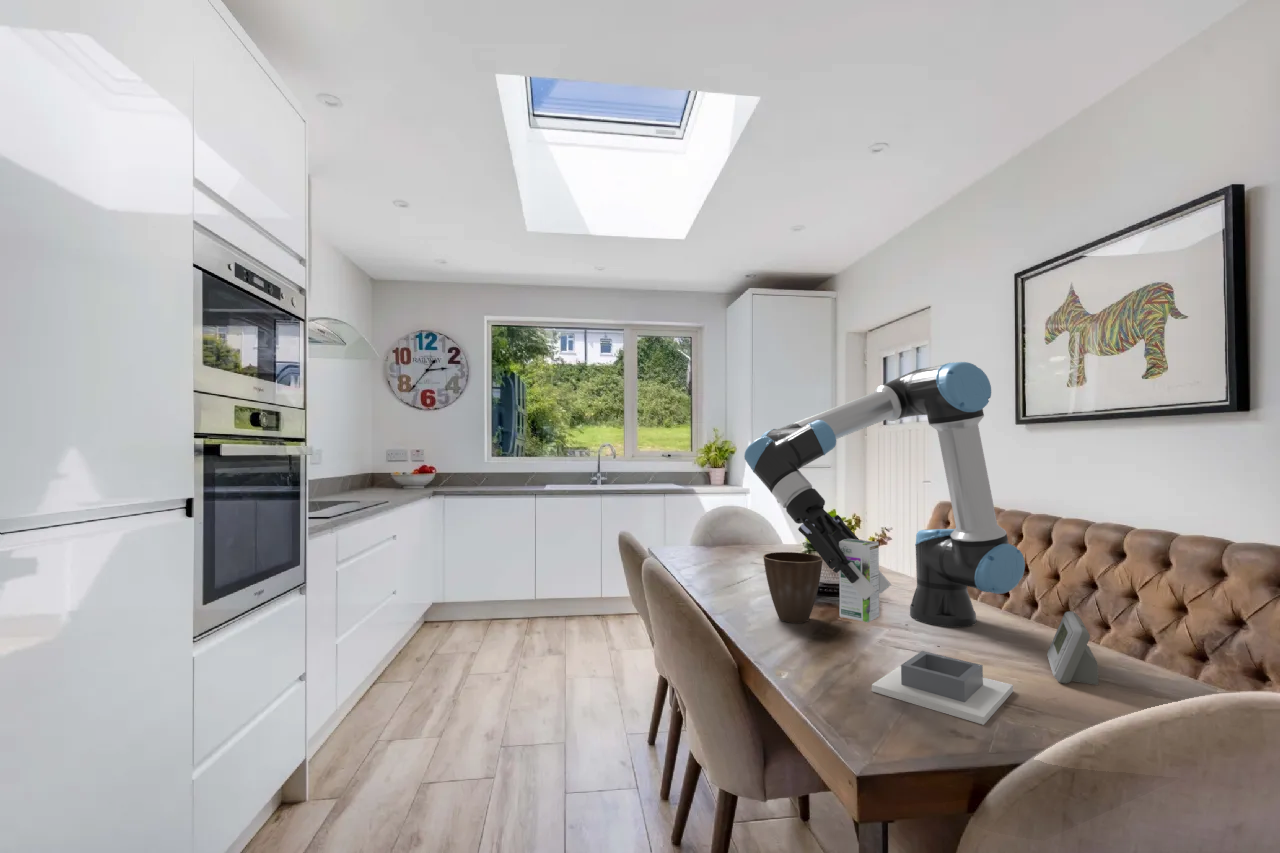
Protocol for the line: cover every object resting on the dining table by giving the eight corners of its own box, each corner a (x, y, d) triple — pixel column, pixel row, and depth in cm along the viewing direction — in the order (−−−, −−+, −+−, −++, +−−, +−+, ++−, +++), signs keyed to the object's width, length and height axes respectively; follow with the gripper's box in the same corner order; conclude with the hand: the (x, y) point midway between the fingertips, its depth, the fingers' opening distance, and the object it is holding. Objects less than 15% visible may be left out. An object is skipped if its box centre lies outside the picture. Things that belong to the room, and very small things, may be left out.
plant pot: (761, 610, 158) (761, 551, 158) (818, 612, 156) (817, 552, 156) (766, 626, 143) (765, 561, 143) (828, 629, 141) (827, 562, 141)
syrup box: (838, 617, 110) (837, 540, 111) (851, 610, 115) (850, 537, 115) (868, 623, 106) (866, 544, 107) (880, 616, 111) (879, 540, 111)
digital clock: (1048, 657, 122) (1047, 606, 122) (1103, 668, 116) (1101, 614, 116) (1035, 679, 110) (1034, 623, 110) (1096, 693, 104) (1094, 633, 104)
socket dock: (909, 665, 117) (909, 641, 117) (1013, 691, 104) (1012, 665, 104) (871, 691, 104) (871, 664, 105) (983, 725, 92) (983, 694, 92)
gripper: (811, 506, 129) (886, 594, 116) (762, 514, 116) (840, 613, 103) (833, 484, 125) (912, 572, 113) (785, 489, 112) (869, 589, 100)
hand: (878, 591), depth 108 cm, fingers closed on syrup box, 6 cm apart
